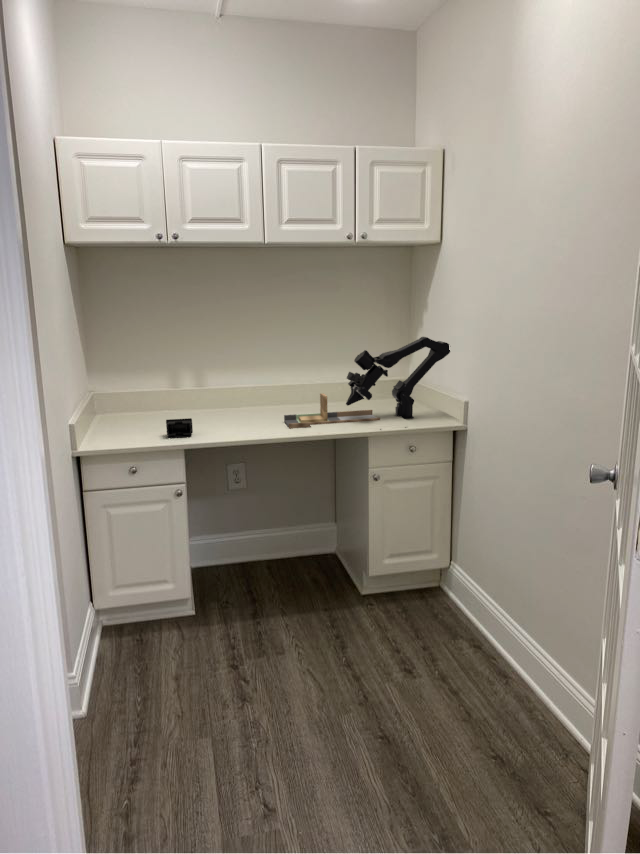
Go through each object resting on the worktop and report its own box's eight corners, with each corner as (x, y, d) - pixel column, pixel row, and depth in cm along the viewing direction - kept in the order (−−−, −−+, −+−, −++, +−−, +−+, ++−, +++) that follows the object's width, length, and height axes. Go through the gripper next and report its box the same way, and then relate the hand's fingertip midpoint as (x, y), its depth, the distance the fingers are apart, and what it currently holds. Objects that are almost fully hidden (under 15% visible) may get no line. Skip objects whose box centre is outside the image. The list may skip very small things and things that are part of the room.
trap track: (371, 416, 292) (371, 409, 291) (379, 421, 281) (379, 414, 280) (284, 421, 284) (284, 415, 283) (288, 427, 273) (288, 420, 272)
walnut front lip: (379, 421, 281) (379, 417, 281) (380, 422, 280) (380, 418, 279) (288, 427, 273) (288, 423, 273) (289, 428, 272) (289, 424, 271)
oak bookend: (323, 418, 284) (323, 393, 282) (327, 422, 278) (327, 396, 275) (298, 420, 282) (298, 394, 279) (301, 423, 275) (301, 397, 273)
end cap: (192, 433, 267) (191, 416, 266) (192, 437, 260) (191, 420, 259) (167, 434, 266) (166, 418, 264) (166, 438, 259) (165, 422, 257)
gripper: (352, 362, 287) (328, 388, 288) (364, 368, 270) (338, 396, 270) (369, 378, 291) (346, 405, 291) (382, 385, 273) (357, 414, 273)
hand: (346, 404), depth 281 cm, fingers closed
